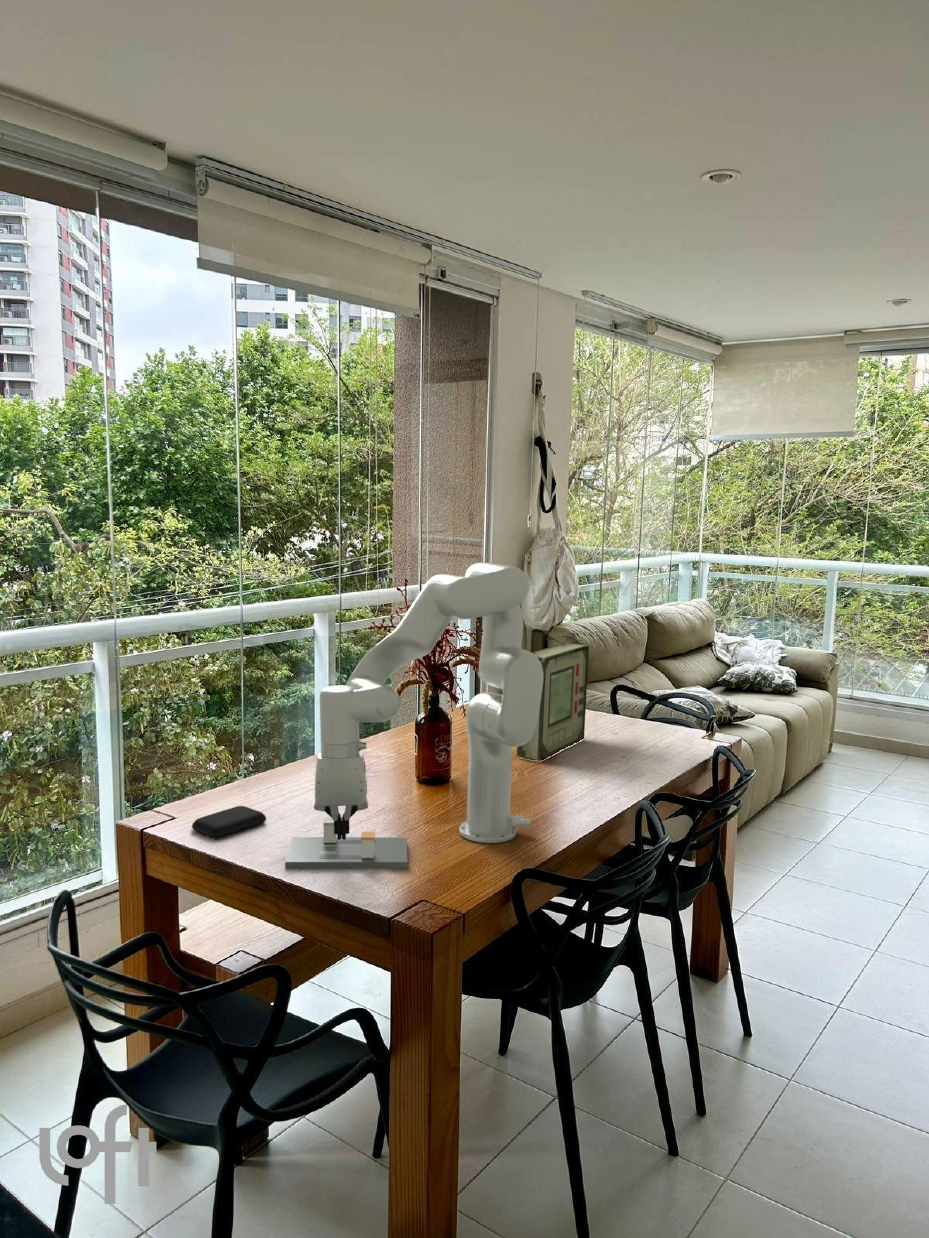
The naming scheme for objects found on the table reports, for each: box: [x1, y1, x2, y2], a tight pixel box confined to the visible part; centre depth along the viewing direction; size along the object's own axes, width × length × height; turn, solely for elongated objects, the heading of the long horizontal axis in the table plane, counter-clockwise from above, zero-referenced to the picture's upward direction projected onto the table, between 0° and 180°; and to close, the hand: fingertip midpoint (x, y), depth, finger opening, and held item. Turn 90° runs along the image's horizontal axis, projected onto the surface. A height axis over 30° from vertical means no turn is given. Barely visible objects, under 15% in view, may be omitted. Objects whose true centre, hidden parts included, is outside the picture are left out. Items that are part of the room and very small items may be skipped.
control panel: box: [516, 642, 590, 761], centre depth 268 cm, size 30×8×30 cm, turn 148°
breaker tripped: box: [361, 831, 376, 858], centre depth 181 cm, size 3×3×4 cm
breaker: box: [323, 816, 337, 843], centre depth 188 cm, size 3×3×4 cm
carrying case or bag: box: [191, 805, 267, 840], centre depth 199 cm, size 11×3×15 cm
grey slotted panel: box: [284, 836, 408, 870], centre depth 185 cm, size 24×13×2 cm, turn 94°
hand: (341, 836), depth 181 cm, fingers closed
